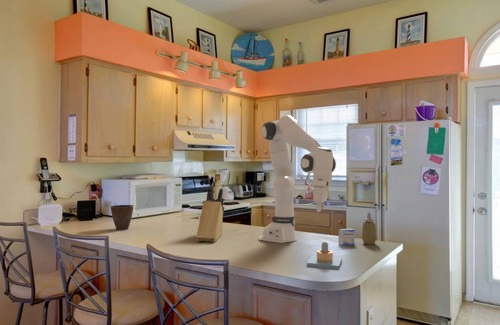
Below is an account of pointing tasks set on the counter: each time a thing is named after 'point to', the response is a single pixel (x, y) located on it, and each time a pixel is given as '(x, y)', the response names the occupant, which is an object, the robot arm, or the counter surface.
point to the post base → (333, 265)
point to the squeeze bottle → (369, 231)
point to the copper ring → (324, 256)
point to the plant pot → (122, 216)
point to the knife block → (211, 217)
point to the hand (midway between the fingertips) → (320, 210)
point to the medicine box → (346, 237)
